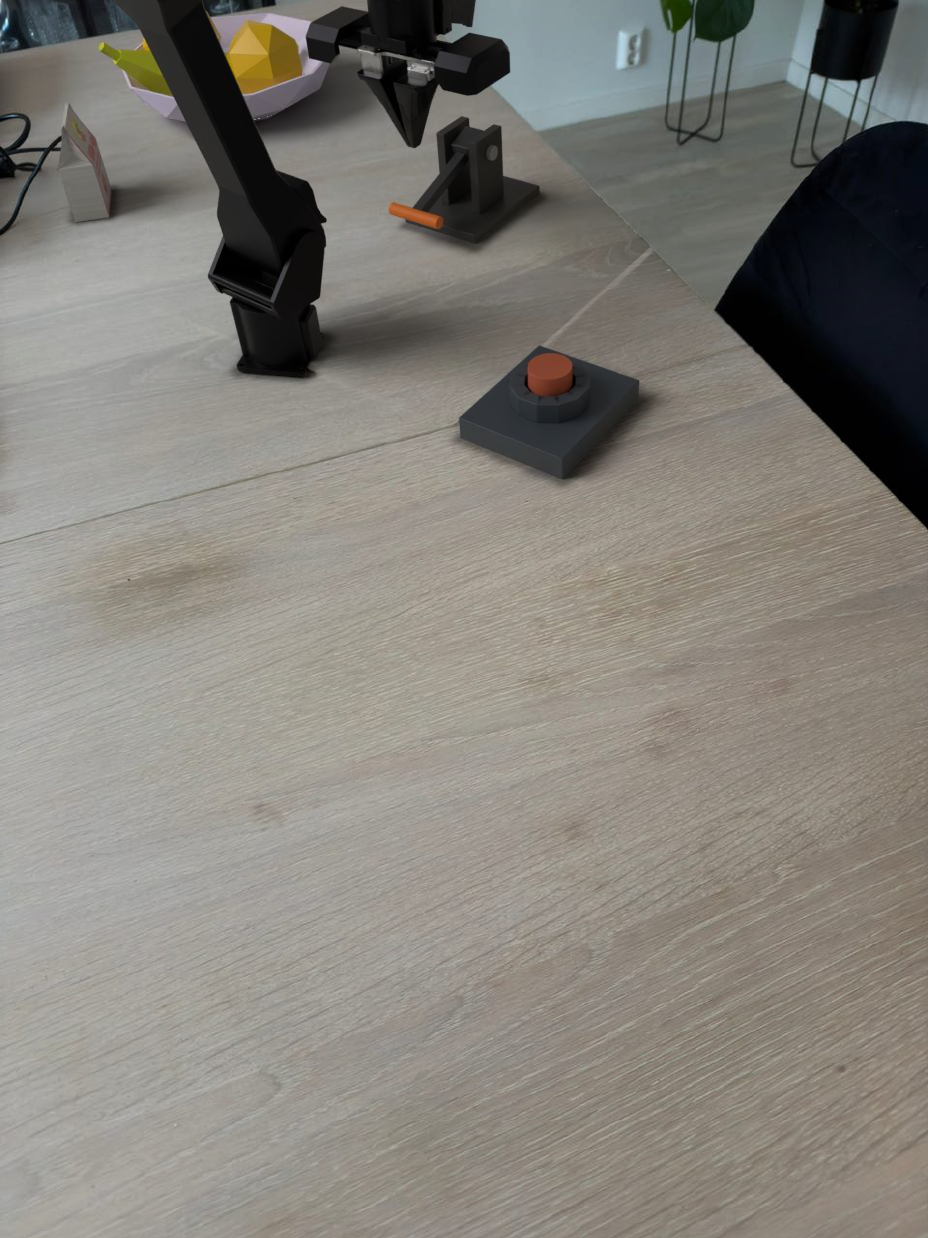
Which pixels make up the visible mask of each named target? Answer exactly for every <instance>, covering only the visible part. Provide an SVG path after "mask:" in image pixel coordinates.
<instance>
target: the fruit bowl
mask: <svg viewBox="0 0 928 1238" xmlns="http://www.w3.org/2000/svg"><path fill="white" fill-rule="evenodd" d="M206 12H207V15H208V17H209V19H210V22H211V24H212V26H213V28H214V31H215V33H216V35H217V37H218V40H219V42H220V44H221V47H222V49H223V51H224V53H225V56H226V58H227V60H228V63H229V65H230V67H231V69H232V72H233V74H234V76H235V78H236V81H237V83H238V85H239V88H240V90H241V92H242V94H243V97H244V99H245V101H246V103H247V106H248V108H249V110H250V113H251V115H252V117H253V119H256V120H254V122H256V121H263V120H268V119H270V118H272V117H273V116H275V115H277V114H278V113H281V112H282V111H285V108H286V109H287V108H289V107H291V106H292V105H294V104H296V103H298V102H299V101H301V100H303V99H305V98H307V97H308V96H310V95H312V94H314V93H315V92H317V91H319V90H320V89H321V87H322V84H323V82H324V80H325V77H326V74H327V73H328V70H329V68H330V66H331V64H330V63H326V62H322V61H318V60H313V59H309V56H308V49H307V43H306V37H305V36H306V34H307V31H308V28H309V25H310V23H311V22H313V21H314V20H313V21H312V20H307V19H303V18H297V17H292V16H287V15H282V14H277V13H272V12H265V13H252V14H240V15H227V16H215V17H211V16H210V14H209V12H208V11H207V10H206ZM97 48H98V51H99V52H100V53H102V54H103V55H105V56H107V57H109V59H112V61H113V63H114V65H116V66H117V67H118V68H119V69H121V72H122V74H123V76H124V79H125V81H126V83H127V85H128V88H129V89H130V90H131V92H133V94H134V95H135V96H136V97H137V98H138V99H139V100H140V102H142V103H143V104H144V105H145V106H147V107H149V108H150V109H152V110H153V111H155V112H156V113H158V114H159V115H161V116H162V117H164V118H165V119H168V120H169V119H170V120H174V121H181V122H185V119H184V117H183V115H182V113H181V111H180V109H179V107H178V105H177V103H176V101H175V99H174V97H173V95H172V93H171V91H170V89H169V87H168V85H167V83H166V81H165V79H164V77H163V75H162V73H161V71H160V69H159V67H158V65H157V63H156V61H155V59H154V57H153V55H152V53H151V51H150V49H149V47H148V45H147V43H146V41H145V39H144V37H143V36H142V42H141V43H140V44H139V45H138V46H137V47H135V48H134V49H116V48H114V47H112V46H111V45H109V44H108V43H106V42H100V43H99V45H98V47H97ZM302 72H304V73H305V75H302ZM271 115H273V116H271ZM267 116H268V117H267ZM258 118H260V119H258Z"/></svg>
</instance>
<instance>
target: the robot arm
mask: <svg viewBox="0 0 928 1238" xmlns="http://www.w3.org/2000/svg"><path fill="white" fill-rule="evenodd" d="M112 1H113V2H114V3H115V4H116V5H117V6H118V7H119V8H120V9H121V10H122V11H123V12H124V13H125V14H126V15H127V16H128V17H129V18H130V19H131V20H132V21H133V23H134V24H135V25H136V26H137V27H138V29H139V31H140V33H141V35H142V38H143V37H144V39H145V41H146V43H147V45H148V47H149V49H150V51H151V53H152V55H153V57H154V59H155V61H156V63H157V65H158V67H159V69H160V71H161V73H162V75H163V77H164V79H165V81H166V83H167V85H168V87H169V89H170V91H171V93H172V95H173V97H174V99H175V101H176V103H177V105H178V107H179V109H180V111H181V113H182V115H183V117H184V119H185V121H186V122H185V121H184V122H185V123H186V125H187V127H188V129H189V131H190V133H191V135H192V137H193V139H194V141H195V143H196V145H197V147H198V149H199V151H200V153H201V155H202V157H203V159H204V161H205V164H206V165H207V167H208V169H209V171H210V173H211V175H212V177H213V179H214V181H215V183H216V185H217V188H218V198H217V208H216V218H217V221H218V224H219V227H220V230H221V233H222V237H221V239H220V243H218V247H217V249H216V252H215V255H214V257H213V260H212V262H211V265H210V267H209V270H208V273H207V278H208V280H209V282H210V283H211V285H212V286H213V288H214V289H215V291H216V292H217V293H219V294H222V295H223V294H224V295H226V296H229V297H231V299H230V300H229V305H230V310H231V314H232V318H233V321H234V326H235V330H236V333H237V338H238V341H239V346H240V350H241V354H242V355H241V356H240V358H239V359H238V362H237V363H236V369H237V371H238V372H241V373H251V374H263V375H276V376H286V377H298V378H300V377H303V376H305V375H306V373H307V372H308V370H309V368H308V366H309V364H310V363H311V361H313V360H315V359H316V357H317V355H318V353H319V351H320V349H321V347H322V346H323V343H324V342H323V338H324V336H325V335H324V333H323V332H322V331H321V325H320V321H319V315H318V310H317V306H316V305H315V304H313V303H314V302H316V301H317V300H319V299H320V298H321V295H322V294H321V292H322V281H323V273H324V272H323V271H324V261H325V250H326V249H325V248H326V247H327V236H326V233H325V229H324V226H323V224H326V223H327V222H328V219H327V218H326V216H324V214H322V212H321V210H320V209H319V207H318V204H317V200H316V196H315V192H314V189H313V187H312V186H311V184H310V182H309V181H308V180H305V179H303V178H300V177H298V176H294V175H292V174H289V173H286V172H284V171H280V170H278V169H276V167H275V165H274V162H273V160H272V159H271V156H270V153H269V150H268V148H267V147H266V144H265V142H264V140H263V138H262V136H261V133H260V131H259V129H258V126H257V124H256V121H254V119H253V117H252V115H251V113H250V110H249V108H248V106H247V103H246V101H245V99H244V97H243V94H242V92H241V90H240V88H239V85H238V83H237V81H236V78H235V76H234V74H233V72H232V69H231V67H230V65H229V63H228V60H227V58H226V56H225V53H224V51H223V49H222V47H221V44H220V42H219V40H218V37H217V35H216V33H215V31H214V28H213V26H212V24H211V22H210V19H209V17H208V15H207V12H208V11H207V10H206V8H205V4H204V1H203V0H112ZM476 3H477V0H366V4H367V6H366V7H367V10H362V9H357V8H351V7H347V6H342V5H341V6H339V7H338V8H336V9H333V10H332V11H330V12H328V13H326V14H324V15H322V16H319V18H317V19H315V20H313V22H311V23H310V25H309V28H308V31H307V34H306V36H305V37H306V43H307V49H308V56H309V59H313V60H318V61H322V62H326V63H330V65H331V64H333V63H335V61H337V59H338V58H339V56H340V54H341V51H340V47H342V48H343V47H344V48H348V49H352V50H356V51H357V54H360V59H361V69H359V70H358V71H357V72H356V74H357V78H358V79H359V80H361V81H364V83H365V84H367V86H368V88H369V89H370V91H371V92H372V93H373V94H374V96H375V97H376V99H377V100H378V102H379V103H380V105H381V106H382V107H383V109H384V110H385V112H386V113H387V115H388V117H389V119H390V120H391V122H392V124H393V125H394V127H395V129H396V130H397V132H398V134H399V135H400V137H401V138H402V140H403V142H404V143H405V145H406V146H407V147H408V148H412V149H416V148H418V147H420V146H421V144H422V141H423V137H424V133H425V129H426V126H427V121H428V117H429V114H430V110H431V106H432V103H433V99H434V97H435V95H436V92H437V89H438V87H440V88H441V89H442V91H444V92H450V93H453V94H457V95H462V96H466V97H470V96H477V95H479V94H481V93H482V92H483V91H485V90H486V89H488V88H489V87H491V86H493V85H494V84H495V83H497V82H498V81H500V80H501V79H503V78H504V77H506V76H507V75H509V74H510V73H511V52H510V49H509V46H508V44H506V43H505V42H504V40H503V39H502V38H499V37H493V36H489V35H483V34H478V33H474V32H468V33H466V34H464V35H462V36H461V37H460V38H457V39H456V40H454V41H453V42H449V41H443V40H441V39H438V36H440V35H442V36H446V35H447V34H449V33H451V32H452V31H453V24H455V25H462V26H465V27H466V28H473V25H474V16H475V11H476V10H475V9H476ZM206 11H207V12H206Z"/></svg>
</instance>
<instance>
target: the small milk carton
mask: <svg viewBox="0 0 928 1238" xmlns="http://www.w3.org/2000/svg"><path fill="white" fill-rule="evenodd" d="M62 115H63V116H62V121H61V127H60V128H61V129H60V131H61V133H60V134H61V141H60V151H59V157H58V164H57V169H56V170H57V172H58V175H59V179H60V182H61V184H62V187H63V189H64V190H63V191H64V193H65V196H66V199H67V202H68V204H69V208H70V210H71V213H72V216H73V219H74V222H75V223H81V222H86V221H93V220H100V219H101V220H102V219H106V218H110V214H111V201H112V190H113V189H112V186H111V183H110V180H109V177H108V174H107V169H106V167H105V164H104V160H103V157H102V155H101V151H100V148H99V145H98V141H97V137H96V136H95V135H94V134H93V132H92V131H91V130H90V129H89V128H88V127H87V125H86V124H85V123H84V122H83V121H82V119H81V118H80V117H79V115H77V113H76V112H75V110H74V109H73V107H72V105H71V103H70V102H69V101H68V102H67V103H66V102H64V109H63V114H62Z"/></svg>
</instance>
